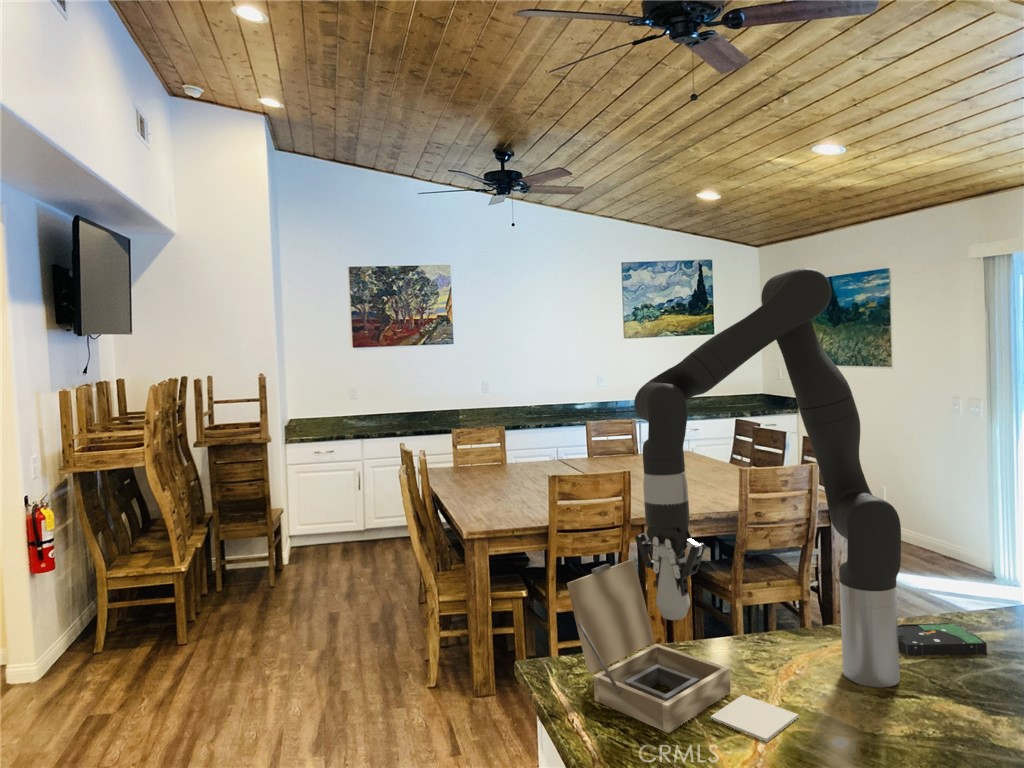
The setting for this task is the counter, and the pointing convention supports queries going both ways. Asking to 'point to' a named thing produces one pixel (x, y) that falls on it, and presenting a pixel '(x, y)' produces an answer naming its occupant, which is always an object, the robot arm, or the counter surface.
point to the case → (659, 664)
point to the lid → (610, 613)
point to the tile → (755, 717)
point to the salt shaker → (670, 590)
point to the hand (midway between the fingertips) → (672, 595)
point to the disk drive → (938, 640)
